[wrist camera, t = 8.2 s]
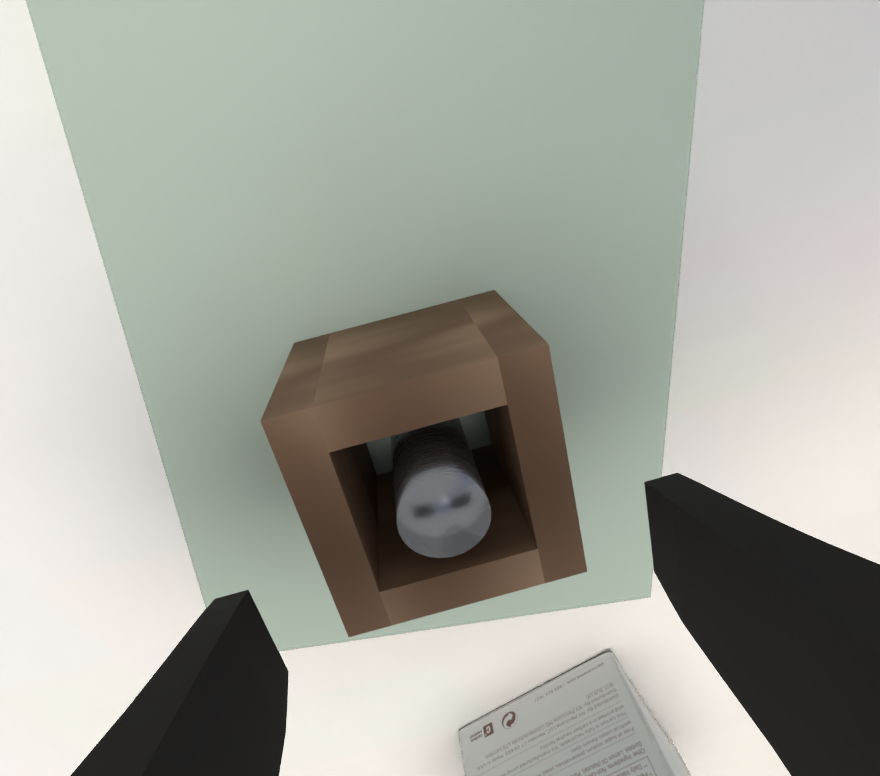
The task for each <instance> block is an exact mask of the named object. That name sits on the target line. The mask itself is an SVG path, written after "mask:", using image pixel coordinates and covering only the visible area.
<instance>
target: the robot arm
mask: <svg viewBox="0 0 880 776" xmlns="http://www.w3.org/2000/svg"><path fill="white" fill-rule="evenodd" d="M644 485H645V494H646V503H647V512H648V521H649V530H650V539H651V548H652V557H653V566H654V572H655V574H656V575H657V577H658V579H659V581H660V583H661V585H662V587H663V588H664V590H665V592H666V594H667V596H668V598H669V599H670V601H671V603H672V605H673V606H674V608H675V610H676V612H677V613H678V615H679V617H680V619H681V620H682V622H683V624H684V625H685V627H686V628H687V629H688V631H689V632H690V634H691V635H692V637H693V638H694V639H695V641H696V642H697V643H698V645H699V646H700V648H701V649H702V650H703V652H704V653H705V655H706V656H707V657H708V659H709V660H710V662H711V663H712V664H713V666H714V667H715V669H716V670H717V671H718V673H719V674H720V676H721V677H722V678H723V680H724V681H725V682H726V684H727V685H728V687H729V688H730V689H731V691H732V692H733V693H734V695H735V696H736V698H737V699H738V700H739V702H740V703H741V704H742V706H743V707H744V709H745V710H746V711H747V713H748V714H749V716H750V717H751V718H752V720H753V721H754V722H755V724H756V725H757V727H758V728H759V729H760V731H761V732H762V733H763V735H764V736H765V738H766V739H767V740H768V742H769V743H770V745H771V746H772V747H773V749H774V750H775V752H776V753H777V755H778V756H779V758H780V759H781V761H782V762H783V764H784V765H785V767H786V768H787V770H788V771H789V773H790V774H791V776H880V565H879V564H877V563H874V562H872V561H869V560H867V559H865V558H862V557H860V556H857V555H855V554H852V553H850V552H847V551H845V550H843V549H840V548H838V547H835V546H833V545H830V544H828V543H826V542H823V541H821V540H819V539H816V538H814V537H812V536H810V535H807V534H805V533H803V532H801V531H798V530H796V529H794V528H792V527H790V526H787V525H785V524H783V523H781V522H779V521H777V520H774V519H772V518H770V517H768V516H766V515H764V514H762V513H760V512H758V511H755V510H753V509H751V508H749V507H747V506H745V505H743V504H741V503H739V502H737V501H735V500H733V499H731V498H729V497H727V496H725V495H723V494H721V493H719V492H717V491H714V490H712V489H710V488H708V487H706V486H704V485H702V484H700V483H698V482H696V481H694V480H692V479H690V478H688V477H685V476H683V475H681V474H679V473H675V474H671V475H668V476H664V477H660V478H657V479H653V480H649V481H646V482H644ZM287 695H288V670H287V668H286V666H285V664H284V662H283V660H282V658H281V656H280V653H279V651H278V649H277V647H276V645H275V643H274V641H273V639H272V637H271V635H270V633H269V631H268V629H267V627H266V625H265V623H264V621H263V619H262V617H261V614H260V612H259V610H258V608H257V606H256V604H255V602H254V600H253V598H252V596H251V594H250V592H249V590H245V591H241V592H238V593H234V594H230V595H227V596H223V597H219V598H216V599H214V600H213V601H212V603H211V604H210V605H209V606H208V607H207V608H206V609H205V611H204V612H203V613H202V614H201V616H200V617H199V618H198V619H197V621H196V622H195V623H194V624H193V626H192V627H191V628H190V629H189V631H188V632H187V633H186V635H185V636H184V637H183V638H182V640H181V641H180V642H179V644H178V645H177V646H176V647H175V649H174V650H173V651H172V653H171V654H170V655H169V656H168V658H167V659H166V660H165V662H164V663H163V664H162V665H161V667H160V668H159V669H158V670H157V672H156V673H155V674H154V675H153V677H152V678H151V679H150V680H149V682H148V683H147V684H146V686H145V687H144V688H143V689H142V691H141V692H140V693H139V694H138V696H137V697H136V698H135V699H134V701H133V702H132V703H131V704H130V706H129V707H128V708H127V709H126V711H125V712H124V713H123V714H122V715H121V717H120V718H119V719H118V720H117V721H116V723H115V724H114V725H113V726H112V727H111V728H110V730H109V731H108V732H107V733H106V734H105V736H104V737H103V738H102V739H101V740H100V741H99V743H98V744H97V745H96V746H95V747H94V749H93V750H92V751H91V752H90V753H89V754H88V756H87V757H86V758H85V759H84V760H83V762H82V763H81V764H80V765H79V766H78V767H77V769H76V770H75V771H74V772H73V773H72V775H71V776H279V771H280V764H281V758H282V752H283V746H284V739H285V733H286V716H287Z"/></svg>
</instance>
